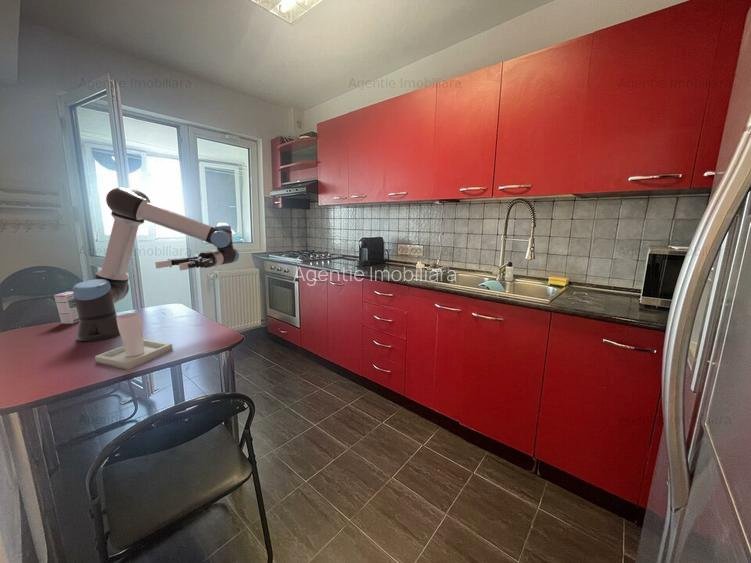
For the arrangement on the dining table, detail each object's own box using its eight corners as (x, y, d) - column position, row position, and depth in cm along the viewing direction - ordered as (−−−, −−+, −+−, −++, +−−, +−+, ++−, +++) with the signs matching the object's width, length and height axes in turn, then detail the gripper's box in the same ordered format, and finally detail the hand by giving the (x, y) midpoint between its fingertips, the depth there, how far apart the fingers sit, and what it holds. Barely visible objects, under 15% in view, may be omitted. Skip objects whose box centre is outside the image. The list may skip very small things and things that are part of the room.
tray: (96, 362, 104) (94, 356, 104) (143, 344, 119) (142, 338, 119) (127, 370, 99) (126, 363, 99) (172, 349, 114) (171, 343, 114)
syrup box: (73, 323, 141) (66, 294, 138) (60, 323, 141) (53, 294, 138) (84, 319, 147) (78, 291, 144) (73, 319, 147) (66, 291, 144)
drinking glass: (151, 351, 111) (144, 313, 108) (132, 359, 105) (124, 319, 102) (139, 348, 113) (132, 311, 110) (119, 356, 107) (111, 317, 104)
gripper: (231, 268, 140) (191, 277, 120) (191, 265, 148) (148, 273, 128) (230, 252, 138) (189, 258, 119) (189, 250, 146) (145, 255, 126)
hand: (167, 266), depth 123 cm, fingers open, 13 cm apart
